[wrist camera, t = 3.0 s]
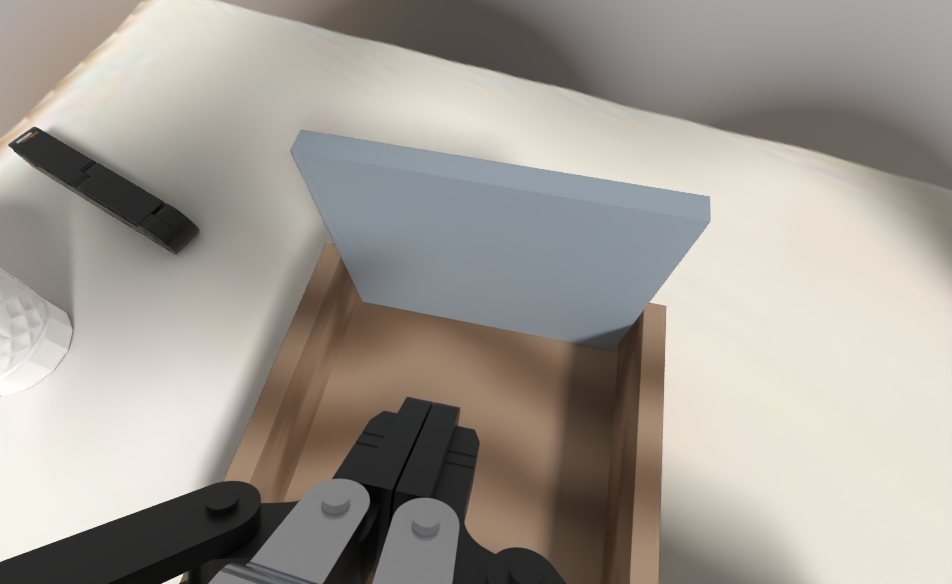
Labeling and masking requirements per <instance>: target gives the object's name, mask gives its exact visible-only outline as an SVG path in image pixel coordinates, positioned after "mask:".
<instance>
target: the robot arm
mask: <svg viewBox="0 0 952 584" xmlns="http://www.w3.org/2000/svg"><path fill="white" fill-rule="evenodd" d="M459 416H460V407H456V406H451V405H447V404H442V403H437V402H434V404H433V402H432V401H427V400H422V399H417V398H412V397H406V399H405V401H404V402H403V404H402V406H401V408H400V409H399V411H398V413H394V412H389V411H383V412H381V413H380V414H378V415H376V416H375V417H373V418H372V419H370V421H369V422H368V424H367V425H366V427H365V428H364V430H363V431H362V434H360V436H359V438H358V439H357V441H356V443H355V444H354V445H353V447H352V448H351V450H350V451H349V453H348V454H347V456H346V458H345V459H344V461H343V462H342V464H341V465H340V467H339V468H338V470H337V471H336V473H335V475H334V476H333V478H332V479H331V480H327V481H323V482H321V483H318V484H317V485H315V486H313V487H312V488H311V489H309V490H308V491H307V492H306V494H305V495H304V496H303V497H302V499H301V500H299V501H294V502H278V503H261V495H260V493H259V491H258V489H257V488H256V487H254V486H253V485H251V484H249V483H246V482H242V481H224V482H219V483H216V484H213V485H210V486H207V487H204V488H201V489H199V490H196V491H193V492H191V493H188V494H185V495H182V496H180V497H177V498H174V499H171V500H169V501H166V502H163V503H160V504H158V505H155V506H152V507H149V508H147V509H144V510H141V511H138V512H136V513H133V514H130V515H128V516H125V517H122V518H119V519H117V520H114V521H111V522H108V523H106V524H103V525H100V526H97V527H95V528H92V529H89V530H86V531H84V532H81V533H78V534H75V535H73V536H70V537H67V538H65V539H62V540H59V541H56V542H54V543H51V544H48V545H45V546H43V547H40V548H37V549H34V550H32V551H29V552H26V553H23V554H21V555H18V556H15V557H12V558H10V559H7V560H4V561H2V562H0V584H162V583H164V582H166V581H168V580H170V579H172V578H174V577H177V576H179V575H181V574H183V573H185V572H186V581H184V582H182V583H179V584H366V582H367V579H368V577H369V575H370V572H373V573H375V576H374V580H373V583H372V584H566V582H565V581H564V580H563V578H562V577H561V576H560V575H559V573H558V572H557V571H556V569H555V568H554V567H553V565H552V564H551V563H550V562H549V561H548V560H547V559H546V558H544V557H543V556H542V555H540V554H539V553H537V552H535V551H533V550H530V549H527V548H521V547H512V548H507V549H503V550H501V551H499V552H498V553H497V554H495V553H493V552H491V551H489V550H487V549H486V548H484V547H482V546H481V545H480V544H478V543H477V542H476V541H475V540H474V539H473V538H472V537H471V535H470V534H469V532H468V531H467V529H466V526H465V518H466V514H467V509H468V504H469V500H470V495H471V491H472V486H473V480H474V474H475V468H476V462H477V457H478V451H479V445H480V442H479V439H478V436H477V434H476V431H475V429H470V428H465V427H461V426H458V423H459Z"/></svg>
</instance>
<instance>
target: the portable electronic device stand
mask: <svg viewBox="0 0 952 584" xmlns="http://www.w3.org/2000/svg"><path fill="white" fill-rule="evenodd" d="M8 146H9V147H11V148H12V149H13V150H14V152H16V153H17V154H18V155H19V156H20V157H22V158H23V159H24V160H25V161H26V162H28V163H29V164H30V165H31V166H32V167H34V168H36V169H37V170H39V171H40V172H42V173H44V174H45V175H47V176H48V177H50V178H52V179H53V180H55V181H57V182H58V183H60V184H61V185H63V186H65V187H66V188H68V189H69V190H71V191H73V192H74V193H76V194H78V195H79V196H81V197H82V198H84V199H86V200H87V201H89V202H90V203H92V204H94V205H95V206H97V207H99V208H100V209H102V210H103V211H105V212H107V213H108V214H110V215H111V216H113V217H115V218H116V219H118V220H120V221H121V222H123V223H125V224H126V225H128V226H129V227H131V228H133V229H135V230H136V231H138V232H139V233H141V234H143V235H144V236H146V237H147V238H149V239H151V240H152V241H154V242H156V243H157V244H159V245H160V246H162V247H164V248H166V249H167V250H169V251H170V252H171V253H173V254H176V253H177V252H178V251H180V250H181V249H182V248H183V247H184V246H185V245H186V244H187V243H188V242H189V241H190V240H191V239H192V238H193V237H194V236H195V235H196V234H197V233H199V229H198V228H197V227H196V225H195V224H194V223H193V222H192V221H190V220H189V219H188V218H187V217H186V216H185V215H183V214H182V213H181V212H179V211H178V210H177V209H175V208H174V207H172V206H170V205H168V204H166V203H165V202H163V201H162V200H160V199H158V198H157V197H155V196H153V195H152V194H150V193H148V192H146V191H145V190H143V189H141V188H140V187H138V186H136V185H135V184H133V183H131V182H130V181H128V180H126V179H124V178H123V177H121V176H119V175H118V174H116V173H114V172H113V171H111V170H109V169H107V168H106V167H104V166H102V165H101V164H99V163H96V162H95V161H93V160H92V159H90V158H88V157H86V156H85V155H83V154H81V153H80V152H78V151H76V150H74V149H73V148H71V147H69V146H68V145H66V144H64V143H63V142H61V141H59V140H57V139H56V138H54V137H52V136H51V135H49V134H47V133H46V132H44V131H42V130H40V129H39V128H37V127H32V128H31V129H30V130H28V131H27V132H25V133H24V134H22V135H21V136H20V137H18V138H17V139H15V140H14V141H12V142H11V143H10V144H8Z"/></svg>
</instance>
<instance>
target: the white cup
mask: <svg viewBox="0 0 952 584" xmlns="http://www.w3.org/2000/svg"><path fill="white" fill-rule="evenodd" d="M72 332H73V328H72V326H71V323H70V320H69V317H68V314H67V313H66V312H65V311H63V310H61V309H60V308H58V307H57V306H55V305H53V304H52V303H50V302H49V301H47V300H45V299H44V298H42V297H41V296H40V295H38V294H37V293H35V292H34V290H33V289H32V288H31V287H29V286H28V285H26V284H24V283H23V282H21V281H20V280H19V279H17V278H16V277H14V276H13V275H11V274H9V273H8V272H6V271H4V270H3V269H1V268H0V396H8V395H11V394H13V393H16V392H19V391H22V390H25V389H28V388H30V387H32V386H34V385H35V384H36V383H38V382H39V381H40V380H42V379H43V378H44V377H46V376H47V375H48V374H50V373H51V372H52V371H54V369H55V368H56V367H57V365H58V364H59V362H60V361H61V360H62V358H63V357H64V355H65V354H66V353H67V351H68V349H69V345H70V341H71V337H72Z"/></svg>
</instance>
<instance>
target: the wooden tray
mask: <svg viewBox="0 0 952 584" xmlns="http://www.w3.org/2000/svg"><path fill="white" fill-rule="evenodd" d="M665 334H666V306H664V305H658V304H653V303H648V305H647V306H646V307H645V309H644V310H643V311H642V313H641V314H640V315H639V317H638V318H637V319H636V321H635V322H634V323H633V325H632V326H631V327H630V329H629V330H628V331H627V333H626V334H625V335H624V337H623V338H622V339H621V341H620V342H619V343H618V344H617V346H616V347H615V348H614V350H613V351H611V350H606V349H601V348H596V347H591V346H586V345H581V344H576V343H571V342H565V341H560V340H555V339H550V338H545V337H540V336H535V335H530V334H525V333H520V332H515V331H510V330H504V329H499V328H494V327H489V326H484V325H479V324H474V323H469V322H464V321H459V320H454V319H449V318H444V317H438V316H433V315H428V314H423V313H418V312H413V311H408V310H403V309H398V308H393V307H388V306H383V305H377V304H372V303H367V302H363V301H362V299H361V297H360V295H359V293H358V291H357V289H356V287H355V285H354V283H353V281H352V278H351V276H350V274H349V272H348V270H347V268H346V266H345V264H344V262H343V260H342V258H341V256H340V253H339V251H338V249H337V247H336V245H335V244H331V243H326V244H325V246H324V248H323V251H322V253H321V255H320V258H319V260H318V262H317V265H316V267H315V269H314V272H313V274H312V276H311V279H310V281H309V283H308V286H307V288H306V290H305V293H304V295H303V297H302V300H301V302H300V304H299V307H298V309H297V311H296V314H295V316H294V318H293V321H292V323H291V325H290V328H289V330H288V332H287V335H286V337H285V339H284V342H283V344H282V346H281V349H280V351H279V353H278V356H277V358H276V360H275V363H274V365H273V367H272V370H271V372H270V374H269V377H268V379H267V381H266V384H265V386H264V388H263V391H262V393H261V395H260V398H259V400H258V402H257V405H256V407H255V409H254V412H253V414H252V416H251V419H250V421H249V423H248V426H247V428H246V430H245V433H244V435H243V437H242V440H241V442H240V444H239V446H238V449H237V451H236V453H235V456H234V458H233V460H232V463H231V465H230V467H229V470H228V472H227V474H226V477H225V479H224V481H242V482H246V483H249V484H251V485H253V486H254V487H256V488H257V489H258V491H259V493H260V495H261V503H278V502H294V501H299V500H301V499H302V497H303V496H304V495H305V494H306V492H307V491H308V490H309V489H311V488H312V487H313V486H315V485H317V484H318V483H321V482H323V481H327V480H331V479H332V478H333V476H334V475H335V473H336V471H337V470H338V468H339V467H340V465H341V464H342V462H343V461H344V459H345V458H346V456H347V454H348V453H349V451H350V450H351V448H352V447H353V445H354V444H355V443H356V441H357V439H358V438H359V436H360V434H362V431H363V430H364V428H365V427H366V425H367V424H368V422H369V421H370V419H372V418H373V417H375V416H376V415H378V414H380V413H381V412H383V411H389V412H394V413H398V411H399V409H400V408H401V406H402V404H403V402H404V401H405V399H406V397H412V398H417V399H422V400H427V401H432V402H433V404H434V402H437V403H442V404H447V405H451V406H456V407H460V416H459V423H458V426H461V427H465V428H470V429H475V431H476V434H477V436H478V439H479V442H480V445H479V451H478V457H477V462H476V468H475V474H474V480H473V486H472V491H471V495H470V500H469V504H468V509H467V514H466V518H465V526H466V529H467V531H468V532H469V534H470V535H471V537H472V538H473V539H474V540H475V541H476V542H477V543H478V544H480V545H481V546H482V547H484V548H486V549H487V550H489V551H491V552H493V553H495V554H497V553H498V552H499V551H501V550H503V549H507V548H512V547H521V548H527V549H530V550H533V551H535V552H537V553H539V554H540V555H542V556H543V557H544V558H546V559H547V560H548V561H549V562H550V563H551V564H552V565H553V567H554V568H555V569H556V571H557V572H558V573H559V575H560V576H561V577H562V578H563V580H564V581H565V582H566V584H658V580H659V545H660V510H661V475H662V440H663V405H664V369H665ZM224 481H223V482H224ZM374 576H375V573H373V572H370V575H369V577H368V579H367V582H366V584H372V583H373V580H374ZM184 581H186V572H185V573H184V575H183V577H182V579H181V582H180V583H182V582H184Z"/></svg>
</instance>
